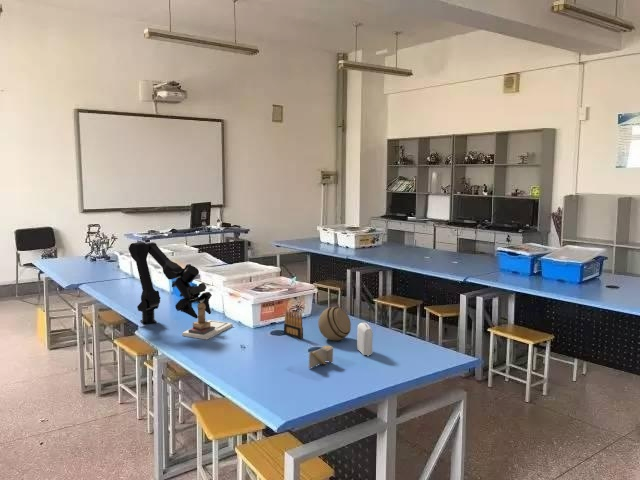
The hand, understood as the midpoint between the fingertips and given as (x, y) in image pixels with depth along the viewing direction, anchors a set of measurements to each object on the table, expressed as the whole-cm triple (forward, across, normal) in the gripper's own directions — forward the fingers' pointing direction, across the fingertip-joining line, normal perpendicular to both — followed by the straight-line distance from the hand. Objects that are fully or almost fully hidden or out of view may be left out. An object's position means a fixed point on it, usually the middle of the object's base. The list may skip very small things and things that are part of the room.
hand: (203, 315), depth 247 cm
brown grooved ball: (+44, +26, -31) cm, 60 cm away
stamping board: (+5, +5, +8) cm, 10 cm away
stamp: (+3, 0, +5) cm, 6 cm away
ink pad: (+4, 0, +6) cm, 7 cm away
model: (+52, -5, -39) cm, 65 cm away
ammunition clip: (+31, +20, -18) cm, 41 cm away
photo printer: (+57, +18, -44) cm, 75 cm away
